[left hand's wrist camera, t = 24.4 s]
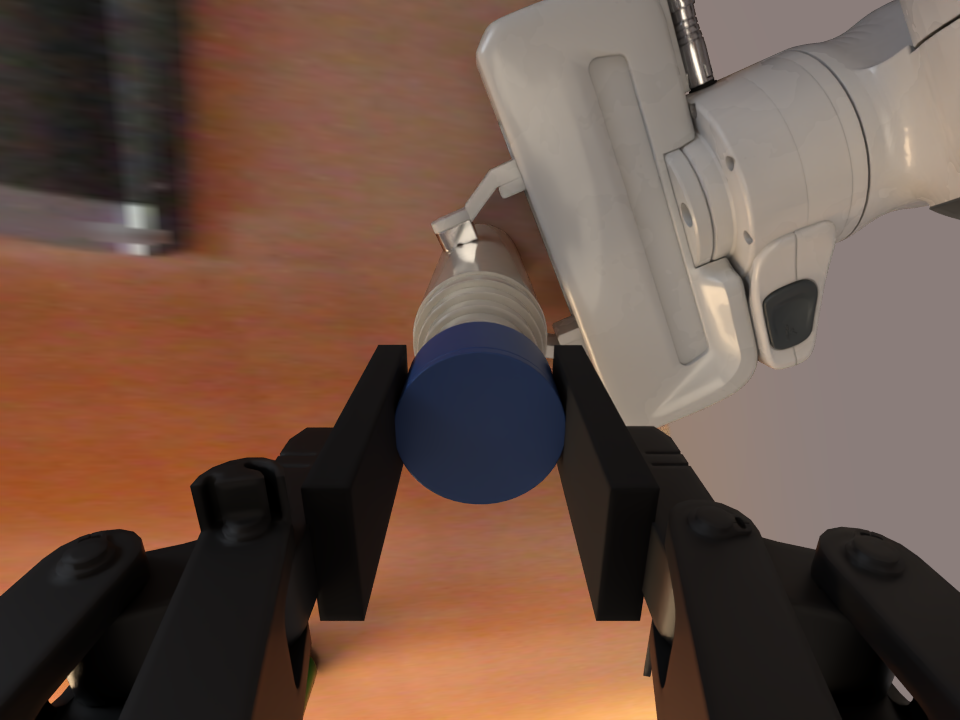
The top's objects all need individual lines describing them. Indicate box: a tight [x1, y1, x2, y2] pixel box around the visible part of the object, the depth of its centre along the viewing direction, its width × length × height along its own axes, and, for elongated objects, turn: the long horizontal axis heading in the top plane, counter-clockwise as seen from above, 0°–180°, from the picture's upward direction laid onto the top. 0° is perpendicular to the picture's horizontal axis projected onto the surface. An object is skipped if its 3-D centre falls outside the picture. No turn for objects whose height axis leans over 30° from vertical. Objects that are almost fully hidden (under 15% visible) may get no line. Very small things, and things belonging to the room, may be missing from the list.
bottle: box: [413, 224, 547, 356], centre depth 22 cm, size 5×5×20 cm
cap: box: [395, 322, 566, 504], centre depth 13 cm, size 4×4×2 cm
